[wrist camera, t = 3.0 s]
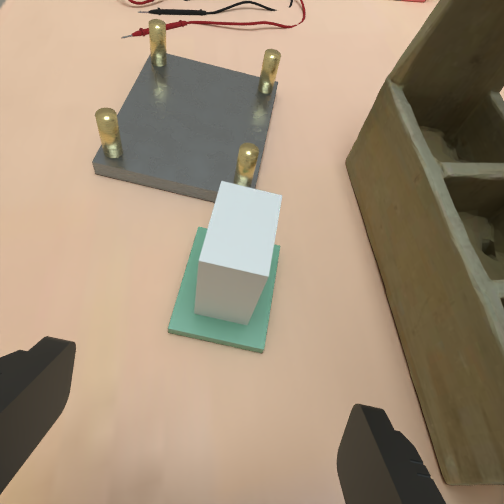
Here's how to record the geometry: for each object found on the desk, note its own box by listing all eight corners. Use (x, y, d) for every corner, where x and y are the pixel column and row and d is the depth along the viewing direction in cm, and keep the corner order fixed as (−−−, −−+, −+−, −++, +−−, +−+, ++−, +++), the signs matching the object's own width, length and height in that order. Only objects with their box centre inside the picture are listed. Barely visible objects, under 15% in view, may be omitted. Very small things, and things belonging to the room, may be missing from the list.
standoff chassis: (275, 93, 44) (286, 47, 39) (249, 210, 35) (260, 168, 30) (153, 62, 43) (150, 11, 38) (95, 173, 34) (82, 125, 30)
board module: (277, 251, 33) (307, 183, 26) (261, 353, 29) (291, 307, 21) (198, 233, 33) (203, 158, 25) (168, 332, 28) (164, 277, 21)
